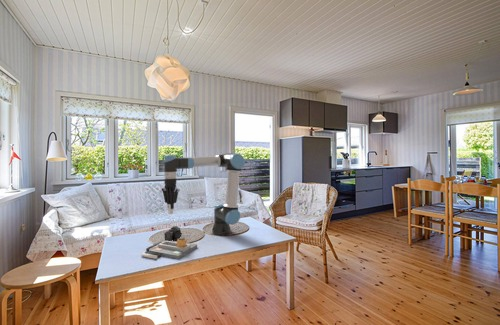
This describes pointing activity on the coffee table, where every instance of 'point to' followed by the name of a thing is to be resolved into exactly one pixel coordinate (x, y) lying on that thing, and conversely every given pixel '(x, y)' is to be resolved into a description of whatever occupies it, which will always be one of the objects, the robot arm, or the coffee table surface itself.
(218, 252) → the coffee table surface
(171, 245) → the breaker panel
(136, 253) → the coffee table surface
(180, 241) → the breaker lever
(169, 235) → the camera
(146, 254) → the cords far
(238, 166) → the robot arm
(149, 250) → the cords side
